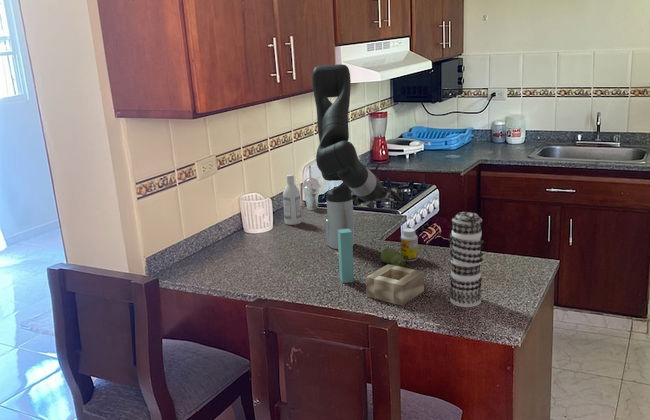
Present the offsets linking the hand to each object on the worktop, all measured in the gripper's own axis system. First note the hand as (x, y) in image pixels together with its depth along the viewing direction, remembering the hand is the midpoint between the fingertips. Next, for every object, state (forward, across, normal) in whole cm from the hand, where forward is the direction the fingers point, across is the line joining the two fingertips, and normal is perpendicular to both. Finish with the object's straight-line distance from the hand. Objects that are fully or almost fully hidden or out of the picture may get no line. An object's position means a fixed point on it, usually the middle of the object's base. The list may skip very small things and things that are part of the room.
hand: (386, 205), depth 184 cm
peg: (+7, +14, +21) cm, 26 cm away
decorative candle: (+9, -22, +27) cm, 36 cm away
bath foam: (+42, +60, -14) cm, 75 cm away
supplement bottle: (+28, +2, +8) cm, 29 cm away
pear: (+22, +6, +12) cm, 26 cm away
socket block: (+5, -3, +26) cm, 27 cm away
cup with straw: (+60, +63, -27) cm, 91 cm away
